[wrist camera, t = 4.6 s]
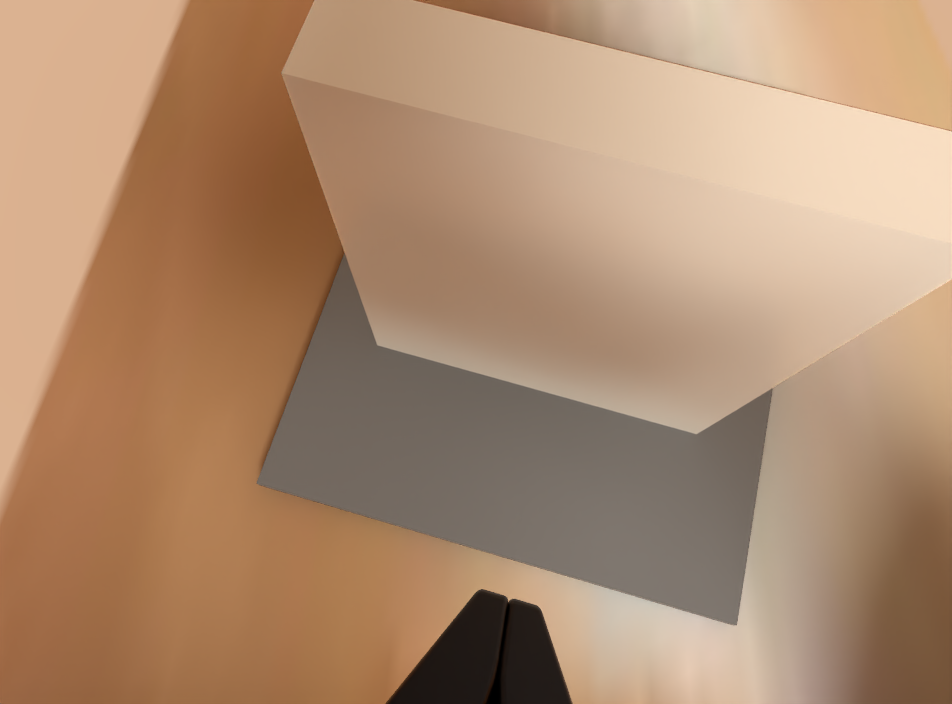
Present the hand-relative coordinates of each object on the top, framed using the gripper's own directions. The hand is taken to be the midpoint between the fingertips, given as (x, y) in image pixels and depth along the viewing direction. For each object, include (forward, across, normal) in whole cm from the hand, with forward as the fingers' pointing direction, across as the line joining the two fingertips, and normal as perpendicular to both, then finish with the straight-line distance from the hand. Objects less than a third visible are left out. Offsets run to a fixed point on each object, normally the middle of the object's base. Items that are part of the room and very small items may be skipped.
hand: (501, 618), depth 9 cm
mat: (+15, 0, 0) cm, 15 cm away
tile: (+12, 0, +2) cm, 13 cm away
